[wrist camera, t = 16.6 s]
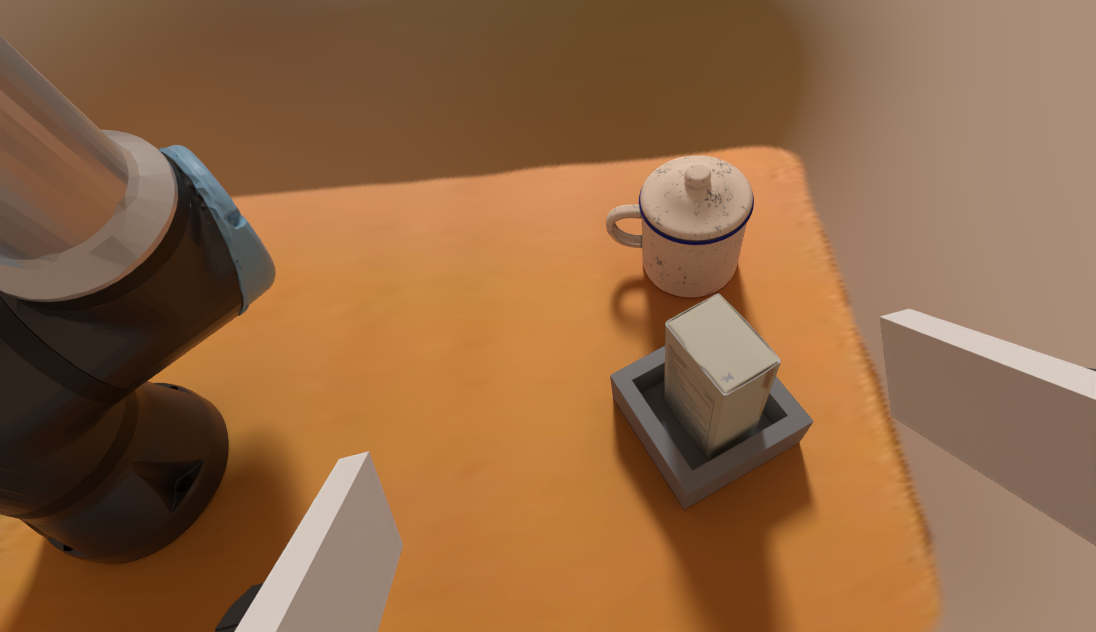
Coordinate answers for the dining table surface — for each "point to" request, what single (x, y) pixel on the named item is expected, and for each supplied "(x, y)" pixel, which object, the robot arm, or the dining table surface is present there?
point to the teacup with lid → (689, 224)
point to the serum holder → (675, 449)
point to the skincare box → (716, 375)
